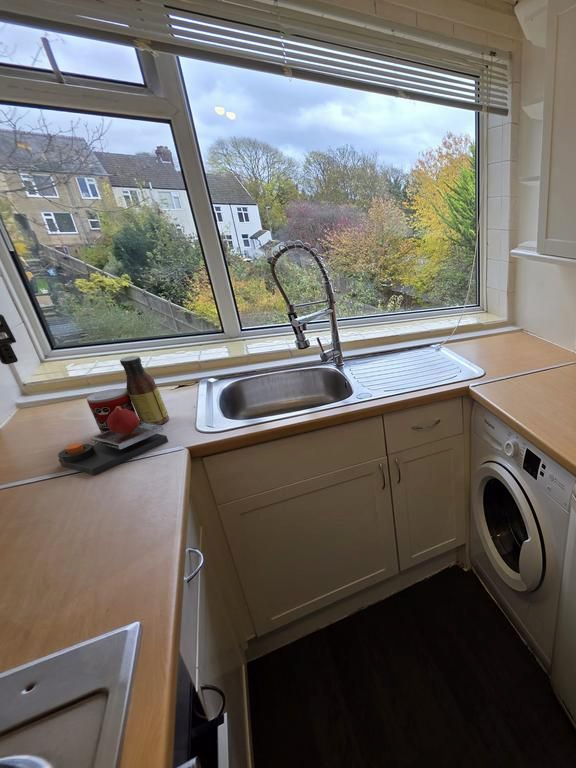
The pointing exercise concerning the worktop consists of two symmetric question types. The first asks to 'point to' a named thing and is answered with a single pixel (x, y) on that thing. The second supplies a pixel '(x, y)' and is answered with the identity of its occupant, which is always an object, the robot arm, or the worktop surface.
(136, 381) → the sauce bottle
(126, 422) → the onion
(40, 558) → the worktop surface
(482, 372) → the worktop surface
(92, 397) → the canned food
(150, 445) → the scale
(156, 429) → the pan
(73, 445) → the tare button
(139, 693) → the worktop surface
